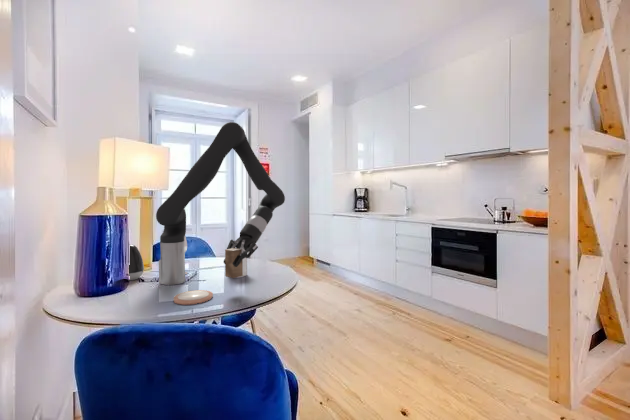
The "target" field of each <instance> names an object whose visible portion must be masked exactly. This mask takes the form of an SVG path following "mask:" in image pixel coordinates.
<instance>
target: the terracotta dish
mask: <svg viewBox="0 0 630 420" xmlns="http://www.w3.org/2000/svg"><path fill="white" fill-rule="evenodd" d="M212 297H214V294H213V292H212V291H209V290H202V289H199V290H198V289H197V290H196V289H195V290H188V291H184V292H180V293H177V294H176V295H174V296H173V303H174V304H177V305H185V306H188V305H197V303H199V304H202V302H203V303H205V301H206V302H208V300H209V301H210V300H212V299H213V298H212ZM211 298H212V299H211Z"/></svg>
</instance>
